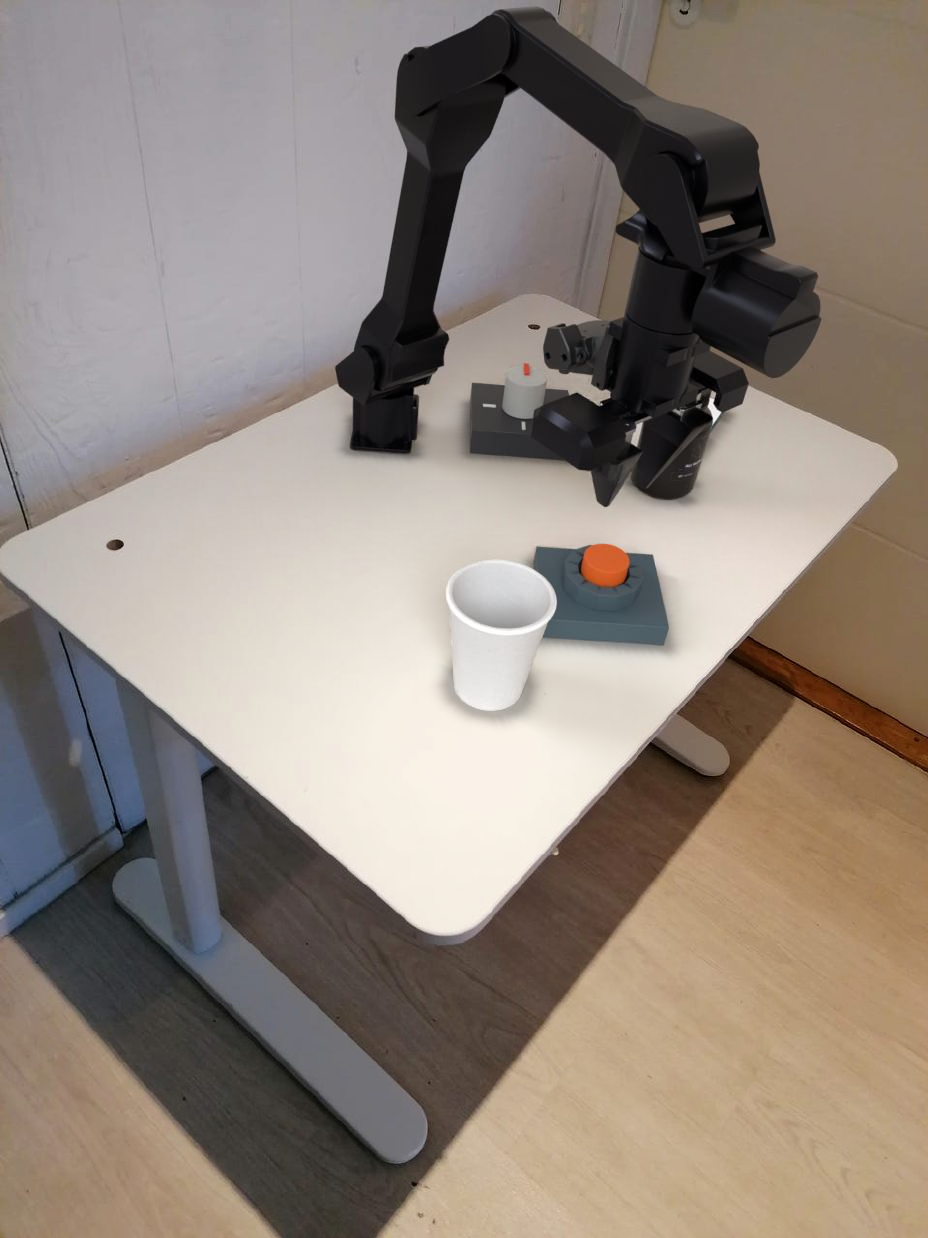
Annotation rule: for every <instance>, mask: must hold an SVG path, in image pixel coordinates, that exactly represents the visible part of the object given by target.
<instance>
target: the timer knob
mask: <svg viewBox="0 0 928 1238" xmlns="http://www.w3.org/2000/svg"><path fill="white" fill-rule="evenodd" d="M547 383H548V376H547V374H546V373H545V372H544V371H543V370H541V369H540V368H538V367H535V366H530V363H527V362H523V365H516V366H513V367H510V368H509V369H508V370H507V371H506V373H505V381H504V385H505V388H504V396H503V403H502V408H503V410H504V411H505V412H506V413H507V414H508V415H510V416H512V417H515V418H520V419H531V418H533V415H534V410H535V409H537V408H539V407H541V406H543V402H544V396H545V390H546V388H547Z"/></svg>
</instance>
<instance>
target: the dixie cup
mask: <svg viewBox="0 0 928 1238" xmlns="http://www.w3.org/2000/svg"><path fill="white" fill-rule="evenodd" d="M445 587H446V588H445V598H446V603H447V605H448V608H449V622H450V623H449V624H450V625H449V627H450V641H451V656H452V657H451V658H452V659H451V660H452V674H453V675H452V676H453V687H454V691H455V693H456V695H457V696H458V698H459V699H460V700H461V701H462V702H463V703H465V704H466V705H468V706H469V707H472V708H474V709H477V710H481V711H487V712H495V711H501V710H505V709H507V708H510V707H512V706H513V705H514V704H516V703H517V702H518V700H520V698H521V696H522V693H523V690H524V687H525V685H526V682H527V681H528V678H529V675H530V671H531V669H532V666H533V664H534V661H535V658H536V655H537V653H538V651H539V648H540V645H541V642H542V639H543V638H544V637H543V634H544V632H545V629H546V626H547V623H548V621H549V620H550V619H551V618H552V616H553V615H554V612H555V610H556V605H557V599H556V594H555V591H554V589H553V587H552V586H551V584H550V583H549V582H548V580H547V579H546V578H545V577H544V576H542V575H541V574H540V573H538V572H537V571H535V570H534V568H532V567H530V566H528V565H525V564H523V563H520V562H517V561H513V560H506V559H495V558H493V559H483V560H478V561H474V562H471V563H469V564H466V565H464V566H462V567H461V568H459V569H458V570H456V571H455V572H454V573H453V574H452V576H451V577H450V578H449V580H448V581H447V584H446V586H445Z"/></svg>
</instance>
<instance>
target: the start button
mask: <svg viewBox="0 0 928 1238" xmlns="http://www.w3.org/2000/svg"><path fill="white" fill-rule="evenodd" d="M591 545H592V546H590V547H588V548H587V549H586V551H585V553H584V557H583V561H582V566H581V573H582V575H583V577H584V578H585V579H586V580H587V581H589V582H591V583H593V584H596V585H598V586H603V587H616V586H619V585H620V584H622V583H623V582H624V581H625V578H626V575H627V571H628V567H629V563H630V560H629V557H628V555H627V554H626V553H627V552H626V551H624V550H623V549H622V548H620V547H618V546H616V545H614V544H609V543H595V544H591Z"/></svg>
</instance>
